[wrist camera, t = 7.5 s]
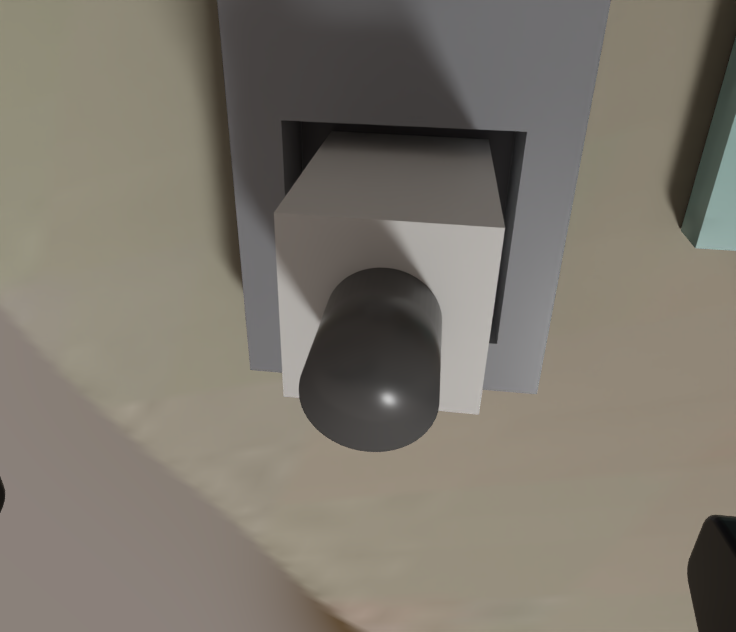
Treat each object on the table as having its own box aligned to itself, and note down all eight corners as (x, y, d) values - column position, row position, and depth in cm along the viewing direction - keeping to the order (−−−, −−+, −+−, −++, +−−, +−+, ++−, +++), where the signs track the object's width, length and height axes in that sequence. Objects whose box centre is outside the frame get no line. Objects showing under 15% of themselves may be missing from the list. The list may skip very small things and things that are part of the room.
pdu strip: (527, 345, 19) (538, 405, 17) (272, 325, 20) (245, 380, 17) (685, -577, 10) (761, -755, 8) (214, -551, 11) (141, -704, 9)
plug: (471, 281, 18) (483, 504, 11) (331, 271, 18) (251, 479, 11) (488, 139, 16) (517, 293, 9) (331, 131, 16) (231, 271, 9)
